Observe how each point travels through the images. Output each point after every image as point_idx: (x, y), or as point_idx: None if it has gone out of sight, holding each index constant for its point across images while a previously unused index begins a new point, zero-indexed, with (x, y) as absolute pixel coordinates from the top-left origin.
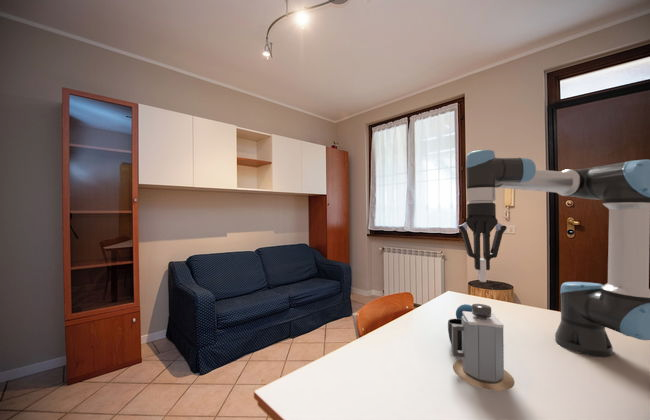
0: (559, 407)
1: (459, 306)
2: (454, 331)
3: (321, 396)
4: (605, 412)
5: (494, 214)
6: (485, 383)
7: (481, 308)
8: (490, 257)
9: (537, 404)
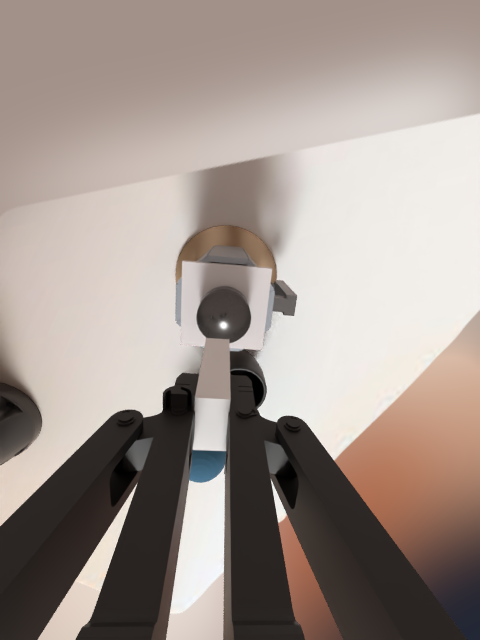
0: (130, 202)
1: (217, 473)
2: (291, 292)
3: None
4: (61, 203)
5: None
6: (232, 244)
7: (230, 299)
8: (157, 421)
9: (163, 204)
